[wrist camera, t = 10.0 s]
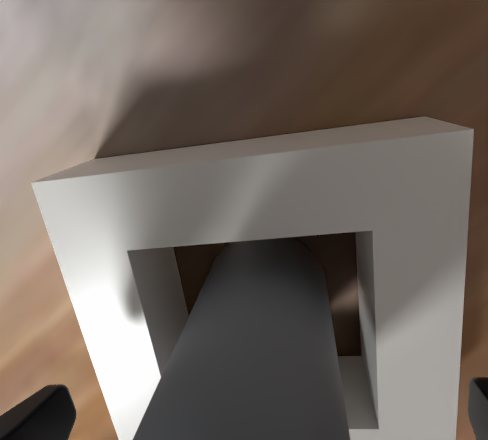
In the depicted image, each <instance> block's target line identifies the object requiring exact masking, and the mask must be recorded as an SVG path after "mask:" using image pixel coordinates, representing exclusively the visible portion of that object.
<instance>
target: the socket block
mask: <svg viewBox="0 0 488 440" xmlns="http://www.w3.org/2000/svg"><path fill="white" fill-rule="evenodd" d="M473 138H474V129H471V128H468V127H464V126H460V125H456V124H453V123H449V122H445V121H441V120H437V119H434V118H430V117H426V116H424V117H416V118H408V119H401V120H393V121H385V122H377V123H370V124H362V125H354V126H346V127H339V128H331V129H323V130H315V131H308V132H300V133H292V134H285V135H277V136H269V137H261V138H254V139H246V140H238V141H230V142H223V143H215V144H207V145H199V146H192V147H184V148H176V149H169V150H161V151H153V152H145V153H138V154H130V155H122V156H114V157H107V158H99V159H92V160H90V161H87V162H85V163H82V164H79V165H77V166H74V167H71V168H69V169H66V170H64V171H61V172H58V173H56V174H53V175H50V176H48V177H45V178H42V179H40V180H37V181H35V182H32V183H31V184H32V187H33V190H34V193H35V196H36V199H37V202H38V205H39V208H40V211H41V214H42V216H43V219H44V222H45V225H46V228H47V231H48V234H49V237H50V240H51V243H52V246H53V249H54V252H55V255H56V257H57V260H58V263H59V266H60V269H61V272H62V275H63V278H64V281H65V284H66V287H67V290H68V293H69V296H70V298H71V301H72V304H73V307H74V310H75V313H76V316H77V319H78V322H79V325H80V328H81V331H82V334H83V337H84V339H85V342H86V345H87V348H88V351H89V354H90V357H91V360H92V363H93V366H94V369H95V372H96V375H97V378H98V380H99V383H100V386H101V389H102V392H103V395H104V398H105V401H106V404H107V407H108V410H109V413H110V416H111V419H112V421H113V424H114V427H115V430H116V433H117V436H118V439H119V440H133V438H134V435H135V433H136V431H137V429H138V427H139V425H140V422H141V420H142V418H143V416H144V414H145V411H146V409H147V407H148V405H149V403H150V400H151V398H152V396H153V394H154V392H155V390H156V387H157V385H158V383H159V381H160V379H161V376H162V374H163V372H164V370H165V368H166V365H167V363H168V361H169V359H170V357H171V355H172V352H173V350H174V348H175V346H176V344H177V341H178V339H179V337H180V335H181V333H182V330H183V328H184V326H185V324H186V322H187V320H188V317H189V315H188V311H187V306H186V302H185V297H184V293H183V289H182V284H181V280H180V275H179V271H178V266H177V262H176V257H175V253H174V249H173V247H177V246H189V245H201V244H214V243H226V242H238V241H250V240H262V239H275V238H287V237H299V236H311V235H323V234H336V233H348V232H355V236H356V257H357V278H358V298H359V319H360V340H361V356H338V362H339V369H340V375H341V382H342V389H343V395H344V402H345V408H346V415H347V421H348V428H349V435H350V440H456V424H457V407H458V390H459V374H460V357H461V340H462V323H463V306H464V289H465V273H466V256H467V239H468V222H469V205H470V188H471V171H472V155H473Z"/></svg>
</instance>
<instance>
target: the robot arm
mask: <svg viewBox="0 0 488 440" xmlns="http://www.w3.org/2000/svg"><path fill="white" fill-rule="evenodd" d="M468 415H469V419H470V422H471V425H472V428H473V431H474V433H475V436H476V439H477V440H488V377H477V378H472V379H471V381H470V385H469V399H468ZM75 419H76V409H75V406H74V403H73V401H72V398H71V395H70V393H69V390H68V388H67V387H66V386H65V385H62V384H61V385H48V386H46V387H44V388H42V389H41V390H39V391H38V392H36V393H35V394H33V395H32V396H30V397H29V398H27V399H26V400H24V401H22V402H21V403H19V404H18V405H16V406H15V407H13V408H12V409H10V410H9V411H7V412H6V413H4V414H3V415H1V416H0V440H68V438H69V435H70V433H71V430H72V428H73V425H74V423H75Z"/></svg>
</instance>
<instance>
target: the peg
mask: <svg viewBox="0 0 488 440" xmlns="http://www.w3.org/2000/svg"><path fill="white" fill-rule="evenodd" d="M133 440H350V435H349V428H348V421H347V415H346V408H345V402H344V395H343V389H342V382H341V375H340V369H339V362H338V356H337V349H336V343H335V336H334V329H333V323H332V316H331V310H330V303H329V297H328V290H327V283H326V277H325V273H324V270H323V268H322V266H321V264H320V262H319V260H318V259H317V257H316V256H315V255H314V254H313V253H312V251H311V250H310V249H308V248H307V247H306V246H305V245H303V244H302V243H300V242H299V241H297V240H295V239H293V238H291V237H287V238H275V239H262V240H250V241H238V242H231V243H229V244H228V245H227V246H225V247H224V248H223V249H222V251H221V252H220V253H219V254H218V256H217V257H216V259H215V261H214V263H213V265H212V267H211V269H210V271H209V274H208V276H207V278H206V280H205V282H204V285H203V287H202V289H201V291H200V293H199V295H198V298H197V300H196V302H195V304H194V306H193V309H192V311H191V313H190V315H189V317H188V320H187V322H186V324H185V326H184V328H183V330H182V333H181V335H180V337H179V339H178V341H177V344H176V346H175V348H174V350H173V352H172V355H171V357H170V359H169V361H168V363H167V365H166V368H165V370H164V372H163V374H162V376H161V379H160V381H159V383H158V385H157V387H156V390H155V392H154V394H153V396H152V398H151V400H150V403H149V405H148V407H147V409H146V411H145V414H144V416H143V418H142V420H141V422H140V425H139V427H138V429H137V431H136V433H135V435H134V438H133Z"/></svg>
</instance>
